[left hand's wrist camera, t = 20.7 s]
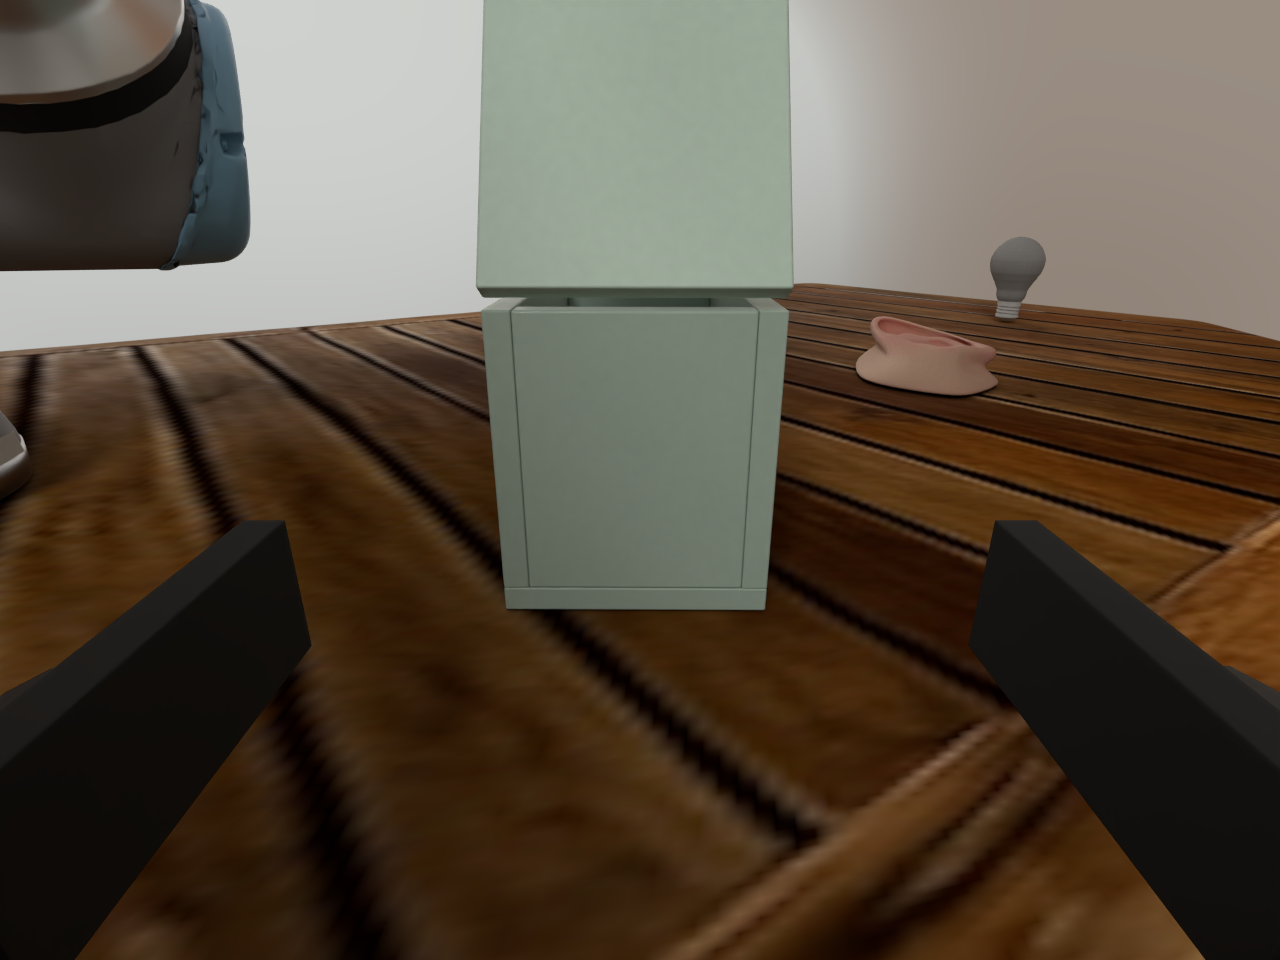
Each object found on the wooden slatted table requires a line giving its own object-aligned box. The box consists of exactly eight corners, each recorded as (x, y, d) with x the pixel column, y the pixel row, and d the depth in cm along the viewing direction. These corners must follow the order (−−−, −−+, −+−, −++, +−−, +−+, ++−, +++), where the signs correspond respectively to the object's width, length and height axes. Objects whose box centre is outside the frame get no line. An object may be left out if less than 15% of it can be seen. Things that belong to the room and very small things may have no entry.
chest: (559, 453, 40) (551, 266, 36) (718, 454, 40) (726, 267, 36) (505, 609, 24) (480, 309, 20) (765, 610, 24) (789, 310, 20)
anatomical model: (1012, 347, 48) (846, 335, 53) (1001, 401, 50) (840, 385, 54) (1002, 321, 60) (867, 313, 64) (993, 365, 61) (861, 355, 65)
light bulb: (989, 323, 84) (1005, 237, 80) (973, 316, 89) (988, 235, 86) (1040, 324, 83) (1059, 238, 79) (1021, 317, 89) (1038, 236, 85)
